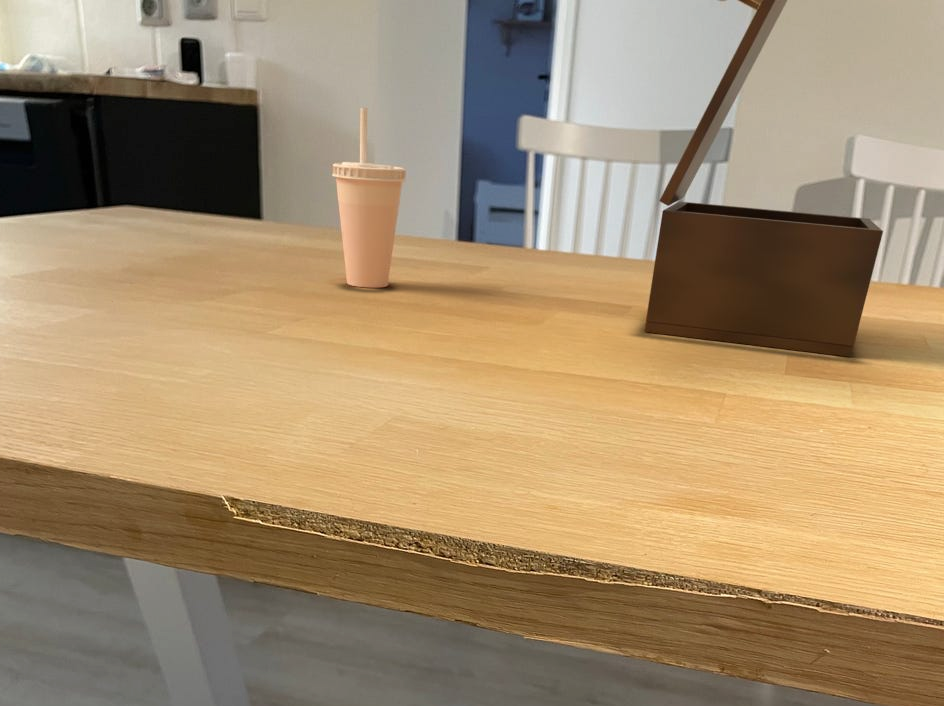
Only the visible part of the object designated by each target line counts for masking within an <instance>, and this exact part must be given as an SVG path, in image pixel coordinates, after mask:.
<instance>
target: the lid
mask: <svg viewBox="0 0 944 706" xmlns="http://www.w3.org/2000/svg"><path fill="white" fill-rule="evenodd" d="M717 1H718V2H726V1H727V0H717ZM737 1H738V2H739V3H741V4H743V5H745V6H747V7H749V8H750V9H753V10H755V12H754V14H753V17H752V19H751V20H750V22H749V24H748V27H747V29H746V30H745V33H744V35H743V36H742V38H741V40H740V41H739V43H738V47H737V48H736V50H735V52H734V54H733V56H732V58H731V60H730V61H729V63H728V65H727V68H726V70H725V72H724V73H723V74H722V75H723V76H722V77H721V79H720V81H719V83H718V85H717V87H716V89H715V91H714V93H713V95H712V97H711V99H710V101H709V102H708V105H707V107H706V108H705V110H704V112H703V115H702V116H701V119H700V120H699V122H698V124H697V126H696V128H695V130H694V132H693V134H692V135H691V138H690V140H689V141H688V144H687V146H686V148H685V149H684V151H683V153H682V155H681V157H680V159H679V162H677V166H676V167H675V169H674V171H673V174H672V175H671V177H670V179H669V181H668V183H667V185H666V187H665V188H664V190H663V192H662V195H661V196H660V198H659V202H660V203H662V204H664V205H665V206H667V207H670V206H672V205H674V204H676V203H677V202H679V201H680V200H682V199H684V198H685V196H686V195H687V192H688V191H689V189H690V187H691V186H692V185H691V184H692V183H693V181H694V179H695V177H696V175H697V173H698V171H699V170H700V168H701V166H702V164H703V163H704V162H703V161H705V158H706V156H707V154H708V153H709V150H710V148H711V147H712V145H713V144H714V141H715V139H716V137H717V136H718V133H719V132H720V130H721V127H722V126H723V124H724V122H725V120H726V119H727V116H728V114H729V112H730V110H731V109H732V107H733V105H734V103H735V101H736V99H737V98H738V96H739V93H740V92H741V90H742V89H743V86H744V84H745V82H746V80H747V78H748V77H749V74H750V72H751V70H752V69H753V67H754V66H755V65H754V64H755V63H756V61H757V59H758V58H759V55H760V53H761V52H762V50H763V47H764V46H765V44H766V43H767V40H768V38H769V37H770V34H771V33H772V30H773V28H774V27H775V25H776V23H777V21H778V19H779V18H780V15H781V14H782V11H783V10H784V8H785V6H786V4H787V2H788V0H737Z"/></svg>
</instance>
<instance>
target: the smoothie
mask: <svg viewBox="0 0 944 706" xmlns="http://www.w3.org/2000/svg"><path fill="white" fill-rule="evenodd" d="M359 118H360V121H359V124H360V125H359V128H360V130H359V131H360V132H359V140H360V141H359V162H356V161H355V162H353V161H342V162H335V163H333V164H332V174H331V177H334V178H335V183H336V193H337V194H336V195H337V201H338V202H337V203H338V211H339V220H340V221H339V222H340V229H341V230H340V231H341V239H342V240H341V241H342V247H343V248H342V249H343V258H344V266H345V268H344V269H345V278H346V283H347V285H349V286H353V287H360V288H370V289H371V288H373V289H375V288H385V287H388V286H389V279H390V271H391V266H392V265H391V264H392V257H393V252H394V251H393V250H394V243H395V238H396V237H395V236H396V229H397V223H398V222H397V221H398V215H399V209H400V202H401V193H402V187H403V183H405V182H407V179H406V172H407V170H406V169H405V168H404V167H401V166H393V165H387V164H377V163H370V162H367V153H368V151H367V150H368V149H367V147H368V108H366V107H360V117H359Z"/></svg>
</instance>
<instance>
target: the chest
mask: <svg viewBox="0 0 944 706" xmlns="http://www.w3.org/2000/svg"><path fill="white" fill-rule="evenodd" d="M661 212H662V213H661V220H660V226H659V231H658V238H657V247H656V253H655V258H654V265H653V270H652V271H653V272H652V278H651V285H650V291H649V297H648V304H647V311H646V317H645V325H644V333H649V334H650V333H651V334H658V335H667V336H675V337H684V338H692V339H700V340H707V341H715V342H724V343H733V344H742V345H749V346H758V347H766V348H773V349H782V350H791V351H798V352H807V353H815V354H823V355H831V356H840V357H848V358H850V357H852V353H853V350H854V346H855V342H856V338H857V334H858V331H859V327H860V323H861V319H862V316H863V311H864V307H865V304H866V300H867V296H868V292H869V288H870V284H871V281H872V276H873V272H874V268H875V265H876V261H877V257H878V252H879V250H880V245H881V241H882V238H883V233H884V230H882V229H881V228H880V227H879V226H878V225H877V224H876V223H874V221H872V220H871V218H867V217H856V216H855V217H854V216H844V215H835V214H834V215H833V214H822V213H813V212H812V213H810V212H801V211H788V210H780V209H779V210H778V209H769V208H768V209H766V208H756V207H745V206H733V205H723V204H711V203H703V202H702V203H701V202H689V201H680V200H678V201H676V202H675V203H673V204H671V205H669V206H667V208H665V209H663V210H662V211H661Z"/></svg>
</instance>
